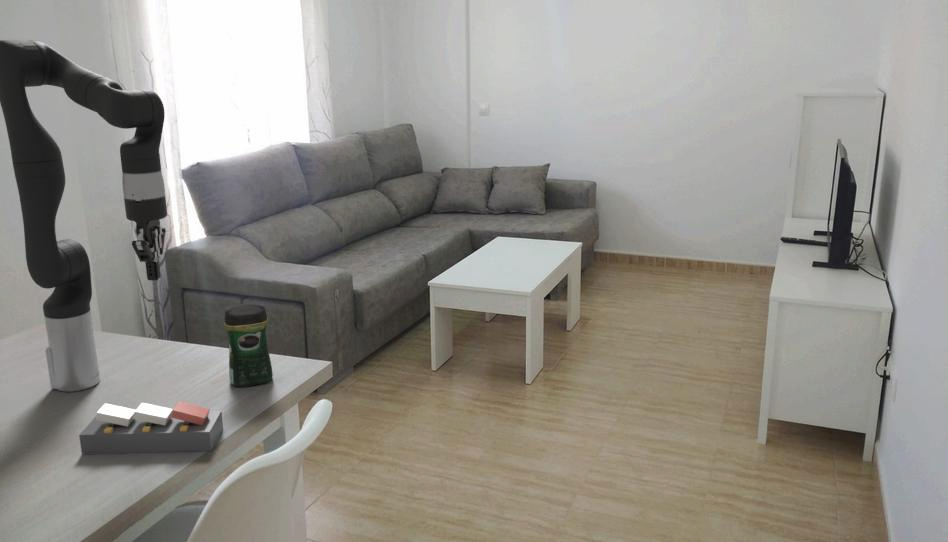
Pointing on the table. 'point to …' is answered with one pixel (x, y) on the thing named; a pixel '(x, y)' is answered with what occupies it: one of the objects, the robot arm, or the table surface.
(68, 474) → the table surface
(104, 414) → the rocker
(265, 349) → the coffee jar
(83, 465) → the table surface
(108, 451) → the switch panel
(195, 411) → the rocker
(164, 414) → the block
